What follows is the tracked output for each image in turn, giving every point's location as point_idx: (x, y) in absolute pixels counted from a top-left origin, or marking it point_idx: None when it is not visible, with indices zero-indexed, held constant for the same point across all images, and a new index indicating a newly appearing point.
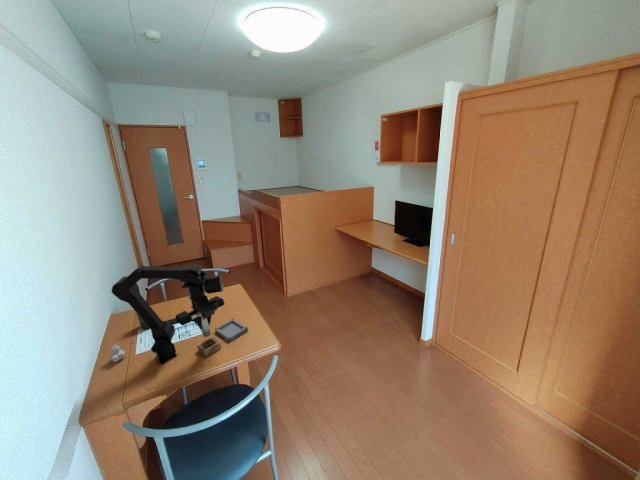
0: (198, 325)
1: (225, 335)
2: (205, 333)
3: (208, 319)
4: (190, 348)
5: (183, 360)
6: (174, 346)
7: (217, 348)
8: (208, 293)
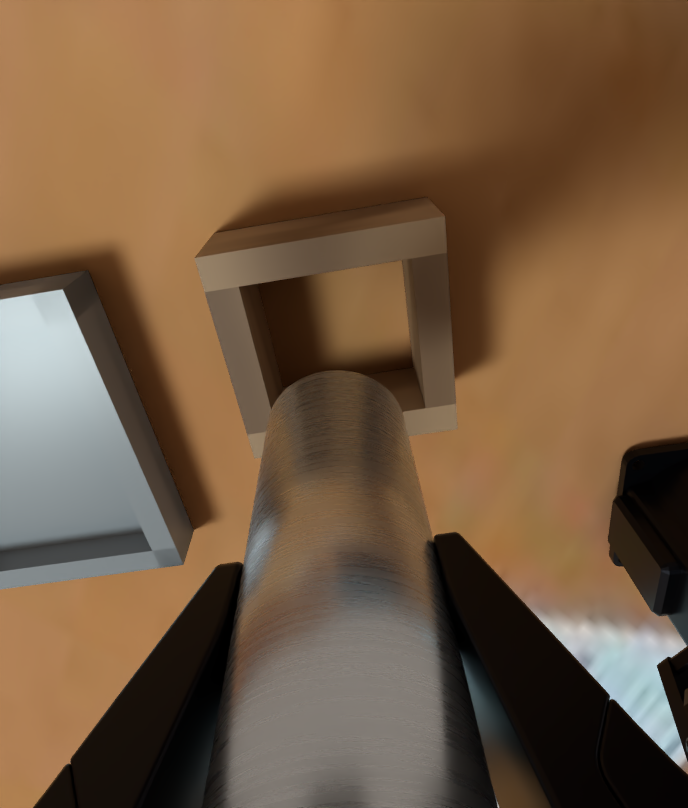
0: (570, 663)
1: (94, 380)
2: (375, 422)
3: (182, 738)
4: (481, 467)
5: (623, 342)
6: (648, 548)
7: (259, 230)
8: None
